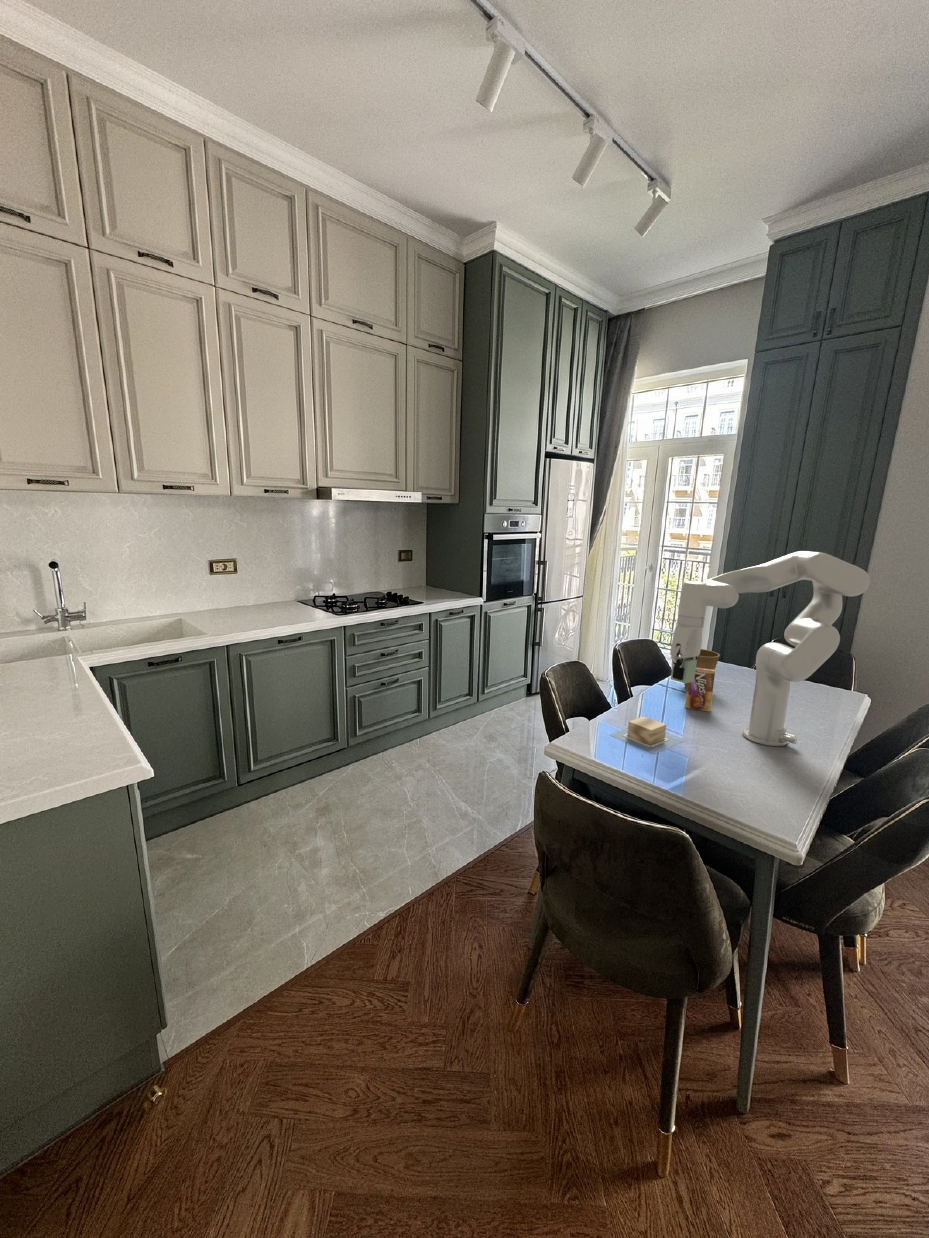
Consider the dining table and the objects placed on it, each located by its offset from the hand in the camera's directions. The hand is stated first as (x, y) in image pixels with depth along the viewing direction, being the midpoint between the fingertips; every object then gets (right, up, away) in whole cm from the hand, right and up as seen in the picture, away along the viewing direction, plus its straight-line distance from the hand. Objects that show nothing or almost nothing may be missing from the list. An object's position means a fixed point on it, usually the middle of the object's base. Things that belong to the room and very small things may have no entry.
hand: (682, 677), depth 160 cm
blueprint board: (-12, -20, -1) cm, 23 cm away
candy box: (+19, -15, +30) cm, 39 cm away
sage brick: (0, -1, 0) cm, 1 cm away
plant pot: (+28, -11, +54) cm, 62 cm away
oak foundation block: (-12, -19, -2) cm, 23 cm away
